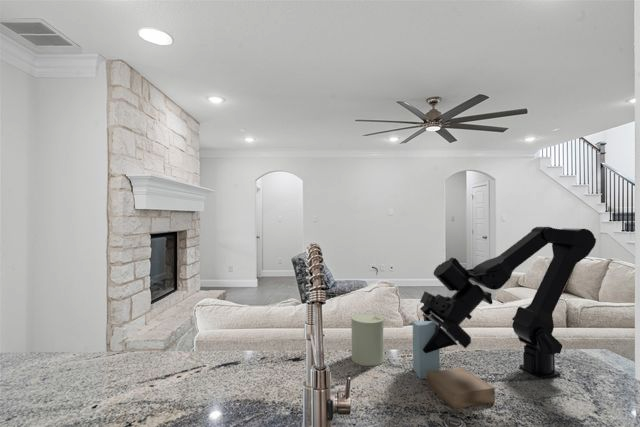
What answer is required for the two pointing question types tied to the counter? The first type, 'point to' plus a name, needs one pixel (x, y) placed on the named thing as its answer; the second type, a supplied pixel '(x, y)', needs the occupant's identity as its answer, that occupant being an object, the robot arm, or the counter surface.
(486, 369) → the counter surface
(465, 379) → the slab
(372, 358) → the can
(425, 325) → the block
